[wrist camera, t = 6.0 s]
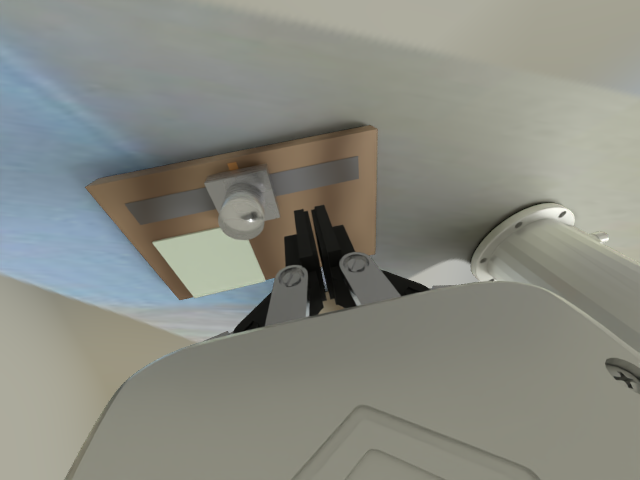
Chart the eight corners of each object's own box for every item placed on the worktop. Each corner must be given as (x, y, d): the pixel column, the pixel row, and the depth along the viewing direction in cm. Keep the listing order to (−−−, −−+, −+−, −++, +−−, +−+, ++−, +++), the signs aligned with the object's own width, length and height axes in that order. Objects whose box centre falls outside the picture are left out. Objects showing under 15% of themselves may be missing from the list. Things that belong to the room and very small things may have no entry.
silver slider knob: (266, 163, 16) (266, 187, 12) (279, 208, 18) (282, 238, 15) (208, 175, 15) (193, 202, 12) (228, 219, 18) (220, 252, 14)
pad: (241, 222, 18) (240, 223, 18) (265, 279, 23) (265, 281, 23) (153, 241, 18) (152, 242, 18) (195, 296, 22) (194, 298, 22)
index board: (369, 125, 17) (378, 129, 16) (370, 245, 25) (375, 254, 23) (98, 178, 16) (83, 187, 15) (183, 288, 23) (179, 300, 22)
